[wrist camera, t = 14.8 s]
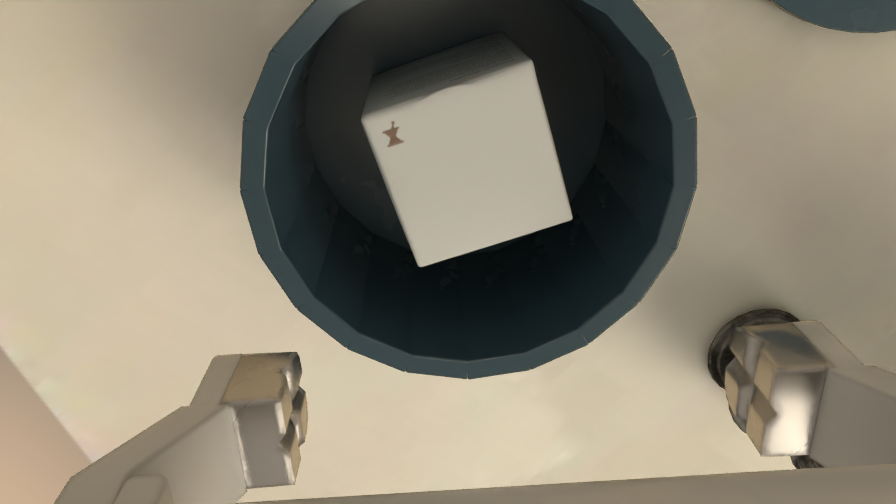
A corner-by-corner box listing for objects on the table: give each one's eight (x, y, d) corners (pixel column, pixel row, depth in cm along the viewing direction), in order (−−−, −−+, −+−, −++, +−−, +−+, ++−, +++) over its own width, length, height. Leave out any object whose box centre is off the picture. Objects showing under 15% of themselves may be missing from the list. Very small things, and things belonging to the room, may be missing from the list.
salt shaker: (679, 357, 37) (788, 535, 26) (768, 282, 36) (924, 438, 25) (747, 416, 39) (876, 606, 28) (836, 347, 37) (1008, 520, 26)
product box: (414, 202, 32) (414, 272, 26) (367, 73, 30) (354, 115, 23) (543, 161, 32) (577, 222, 25) (507, 27, 29) (533, 55, 23)
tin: (375, -136, 27) (356, -166, 19) (684, 42, 30) (791, 87, 22) (240, 187, 32) (176, 281, 24) (517, 309, 36) (550, 431, 27)
